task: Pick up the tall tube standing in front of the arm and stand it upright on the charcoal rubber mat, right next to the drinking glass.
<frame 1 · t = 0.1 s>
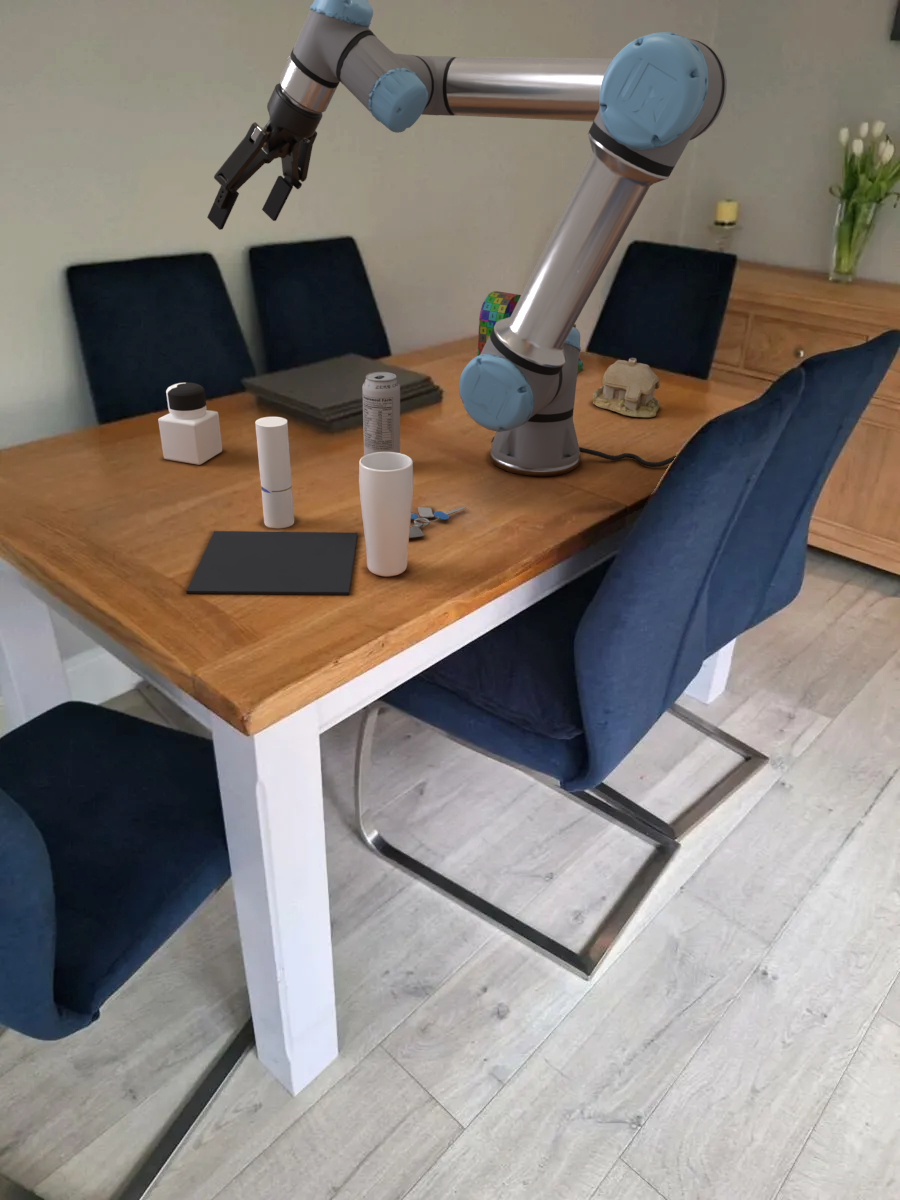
hand: (242, 219, 140), 36 cm above the table, tool tilted 35°, fingers open, 13 cm apart
charcoal mat: (277, 562, 116), on the table
energy drink can: (382, 465, 147), on the table
drinking glass: (387, 570, 115), on the table
ceramic model: (625, 408, 177), on the table
tube: (279, 523, 127), on the table
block: (529, 363, 205), on the table
key chain: (417, 521, 128), on the table
medicine bottle: (193, 456, 148), on the table
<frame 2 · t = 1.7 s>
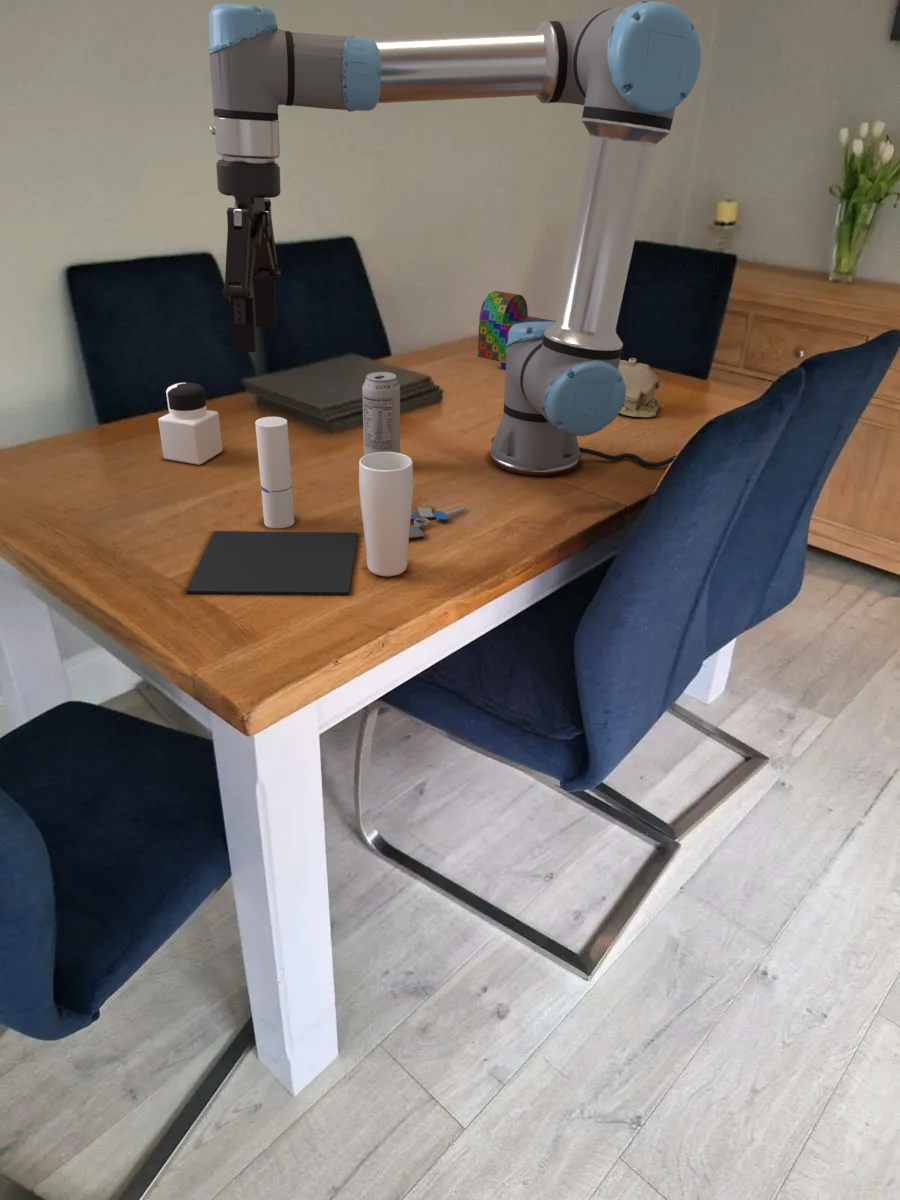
hand: (255, 338, 116), 25 cm above the table, tool pointing down, fingers open, 13 cm apart
nothing on the table moved.
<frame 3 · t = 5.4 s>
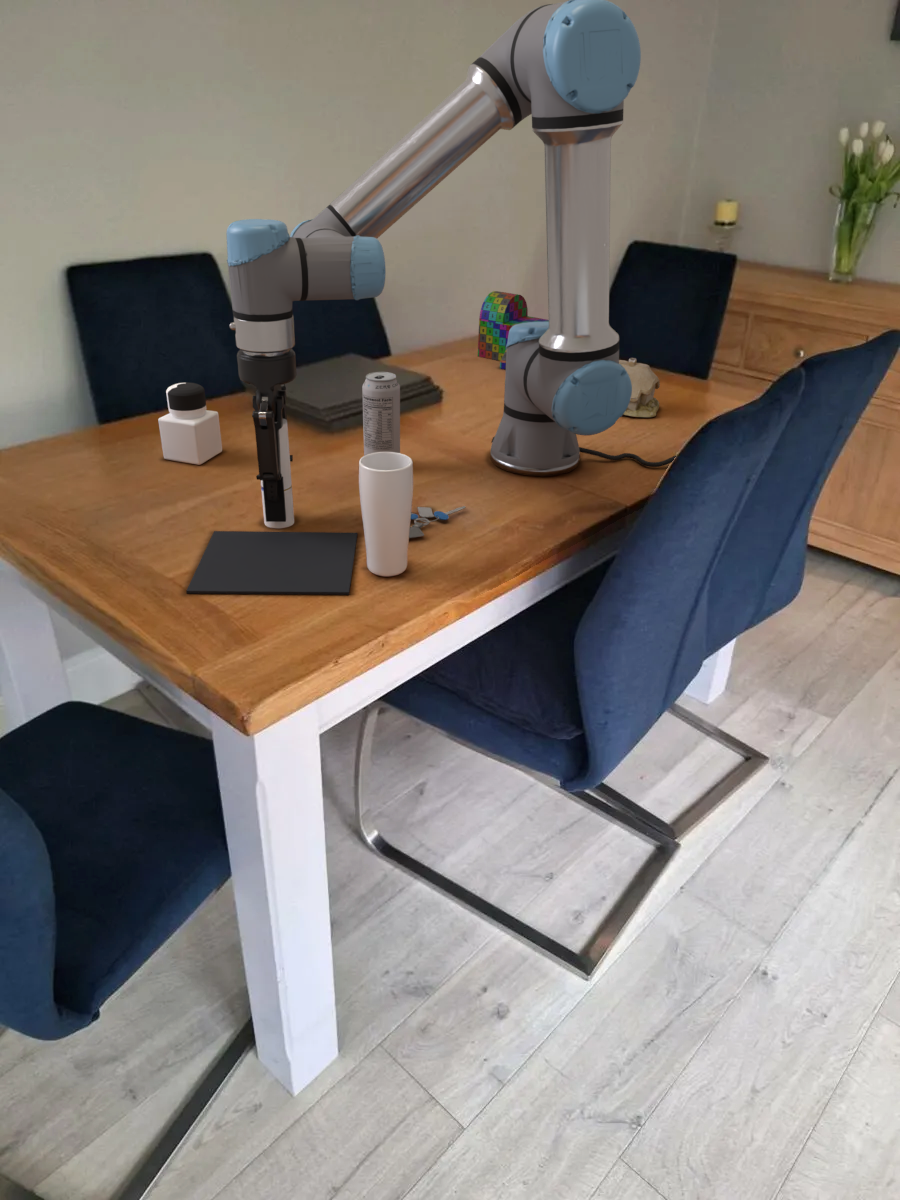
hand: (278, 512, 126), 1 cm above the table, tool pointing down, fingers closed on tube, 4 cm apart
tube: (279, 523, 127), on the table, touching gripper
everything else where it was.
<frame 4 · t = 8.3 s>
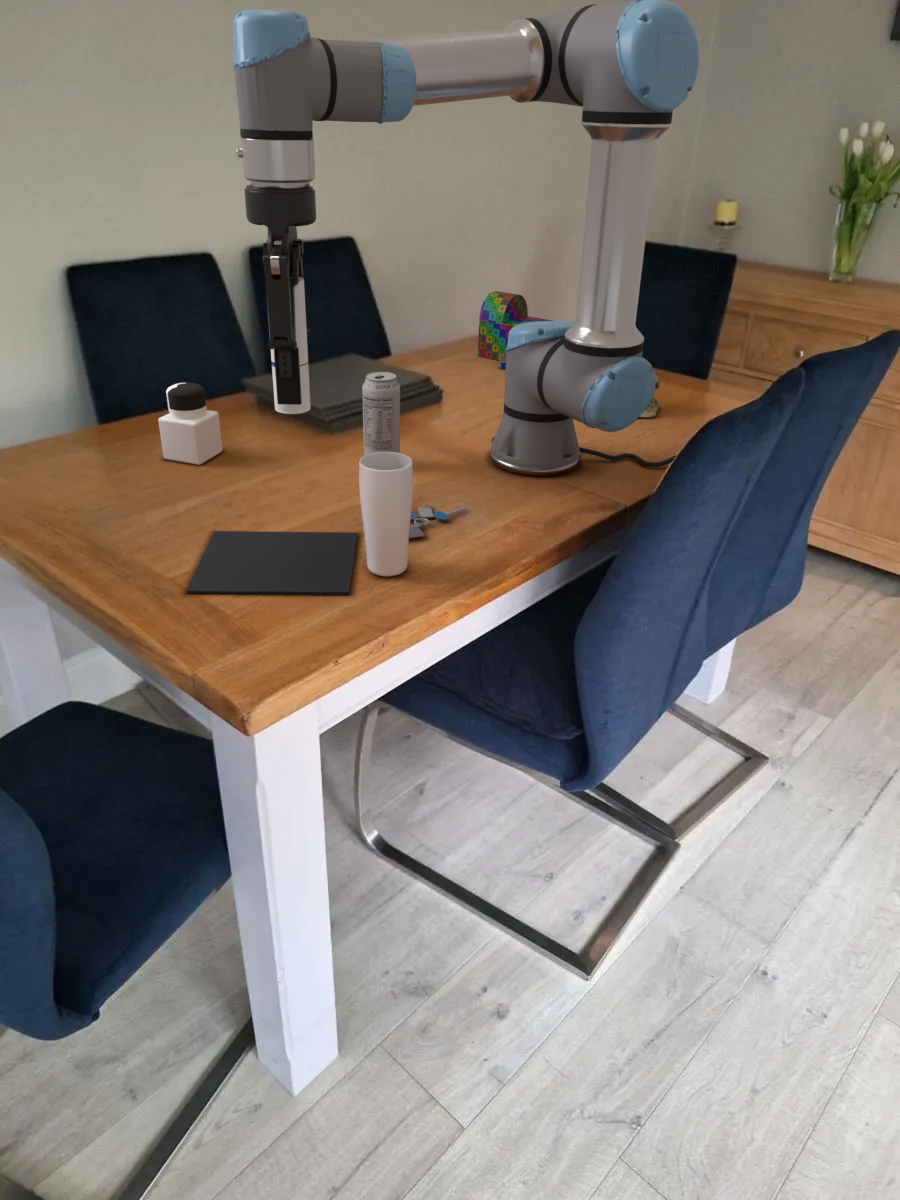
hand: (292, 396, 106), 22 cm above the table, tool pointing down, fingers closed on tube, 4 cm apart
tube: (293, 410, 106), point 20 cm above the table, touching gripper
everything else where it was.
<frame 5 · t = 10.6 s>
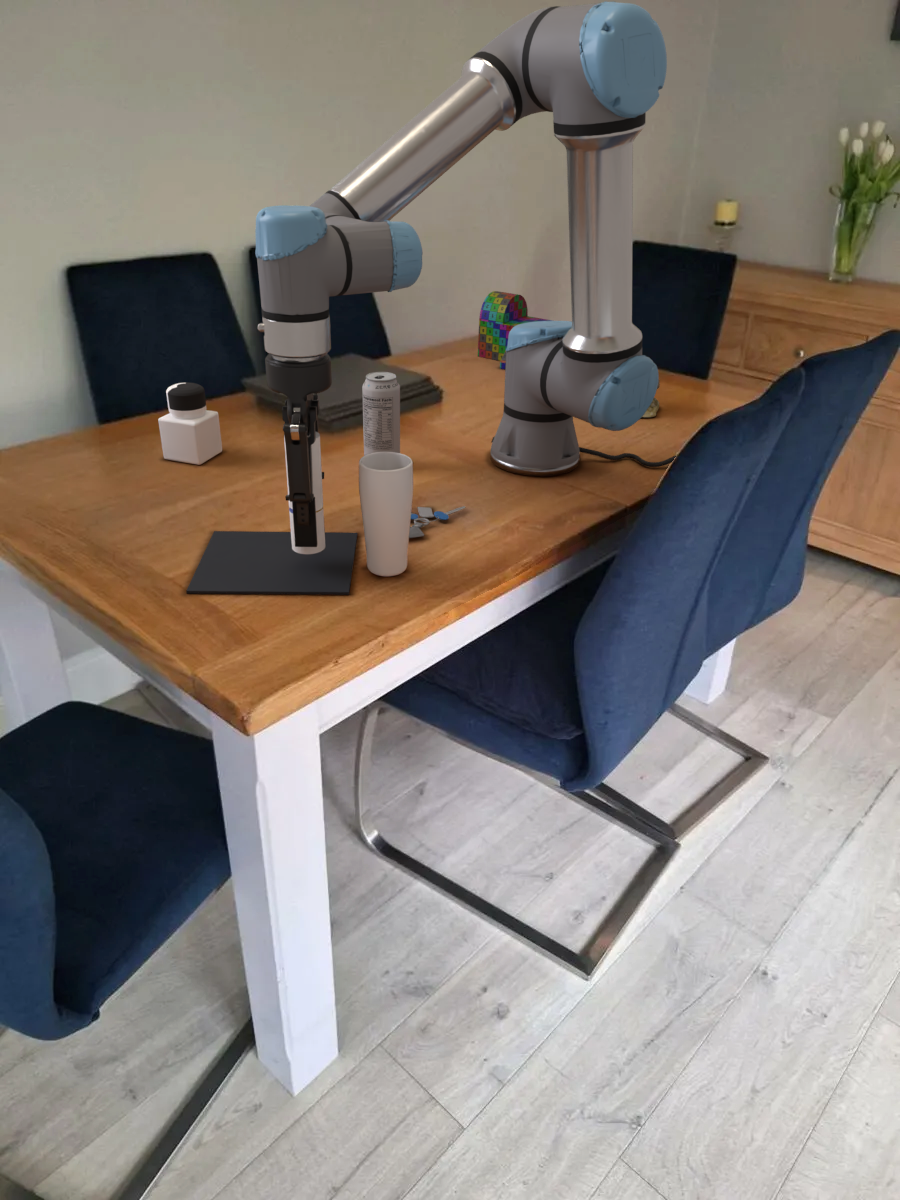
hand: (308, 536, 112), 5 cm above the table, tool pointing down, fingers closed on tube, 4 cm apart
tube: (308, 548, 113), point 3 cm above the table, touching gripper
everything else where it was.
when the fingers open (2 cm above the table, at t = 11.7 s): tube stays where it is, resting on charcoal mat.
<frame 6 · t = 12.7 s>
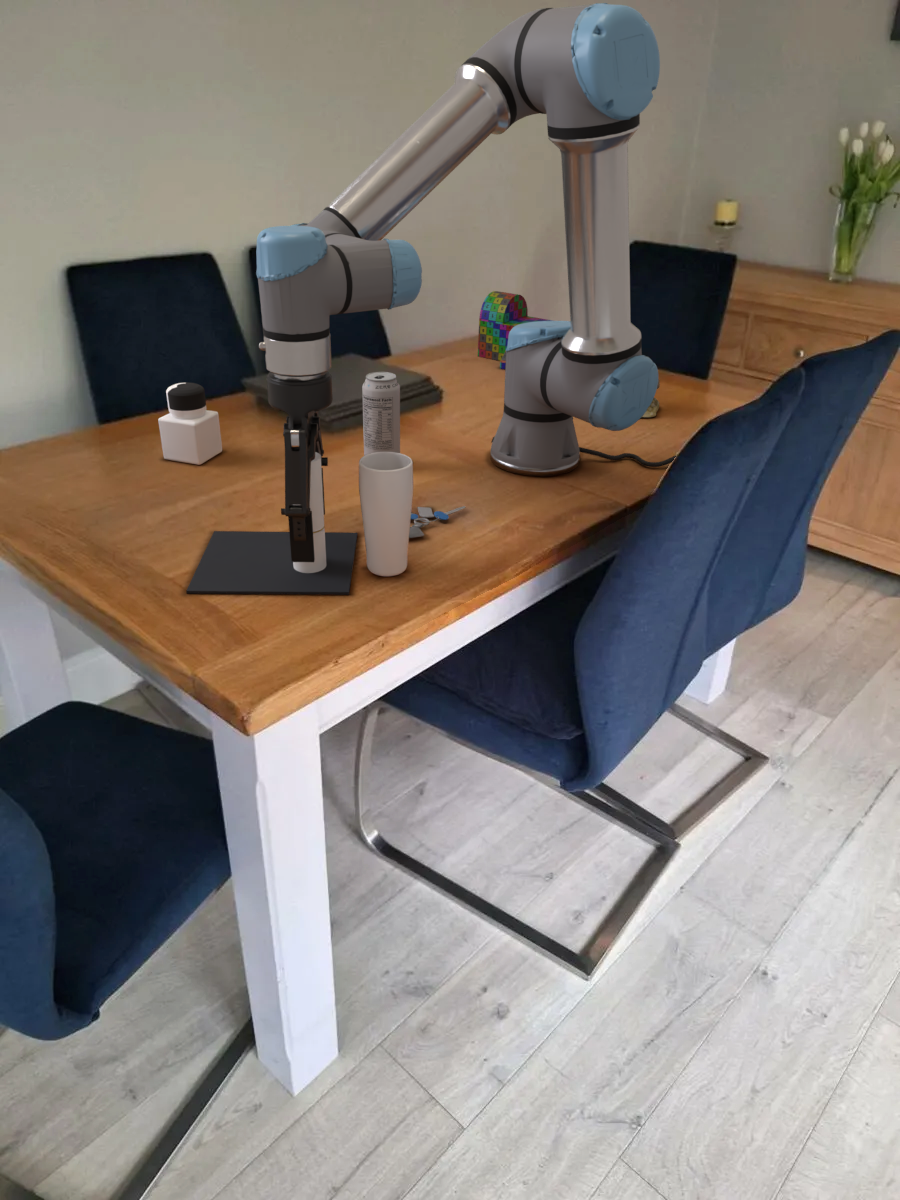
hand: (309, 536, 112), 5 cm above the table, tool pointing down, fingers open, 13 cm apart
tube: (310, 566, 114), resting on charcoal mat
everything else where it was.
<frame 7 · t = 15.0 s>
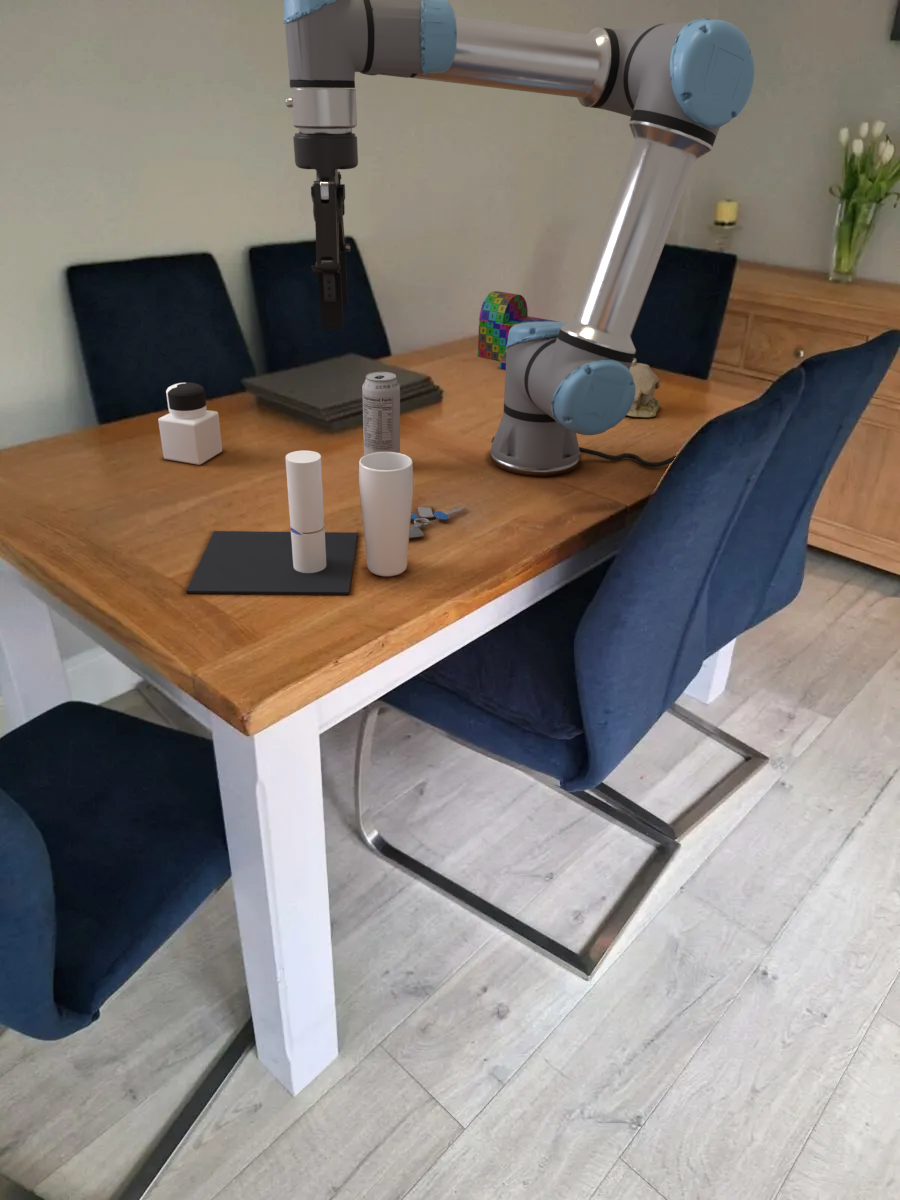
hand: (335, 315, 114), 29 cm above the table, tool pointing down, fingers open, 13 cm apart
nothing on the table moved.
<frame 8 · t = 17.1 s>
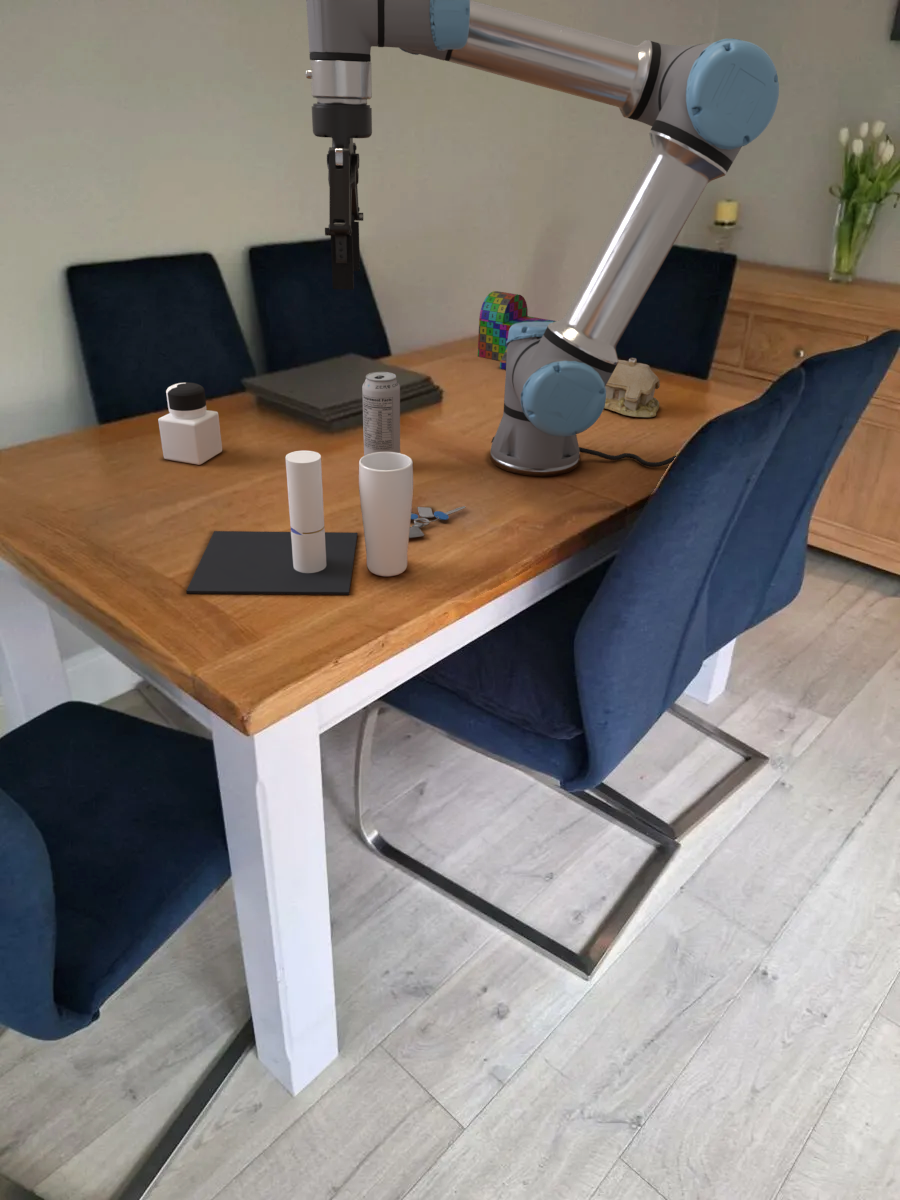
hand: (347, 279, 120), 32 cm above the table, tool pointing down, fingers open, 13 cm apart
nothing on the table moved.
at the end: tube inside the target area on the charcoal mat (4.6 cm from its centre), point 0.2 cm above the charcoal mat's base; tube 10.1 cm from the drinking glass (horizontally); tube tilted 0° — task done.
